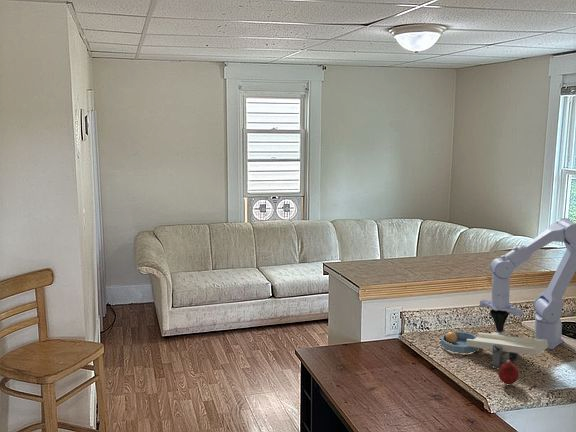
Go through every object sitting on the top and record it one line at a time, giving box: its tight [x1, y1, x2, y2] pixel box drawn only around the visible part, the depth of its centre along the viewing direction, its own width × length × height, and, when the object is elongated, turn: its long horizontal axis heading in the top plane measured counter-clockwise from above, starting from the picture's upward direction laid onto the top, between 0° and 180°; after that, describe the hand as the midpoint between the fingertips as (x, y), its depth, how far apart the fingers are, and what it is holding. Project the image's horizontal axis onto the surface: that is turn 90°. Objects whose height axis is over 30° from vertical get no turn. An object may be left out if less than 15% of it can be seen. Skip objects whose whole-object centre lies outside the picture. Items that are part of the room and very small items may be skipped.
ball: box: [445, 331, 457, 343], centre depth 202 cm, size 4×4×4 cm
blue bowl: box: [440, 330, 479, 353], centre depth 200 cm, size 12×12×3 cm
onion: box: [497, 360, 520, 385], centre depth 172 cm, size 6×6×8 cm
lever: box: [466, 328, 548, 356], centre depth 189 cm, size 17×24×3 cm
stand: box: [489, 334, 522, 368], centre depth 186 cm, size 14×4×7 cm, turn 131°
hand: (499, 329), depth 199 cm, fingers closed
